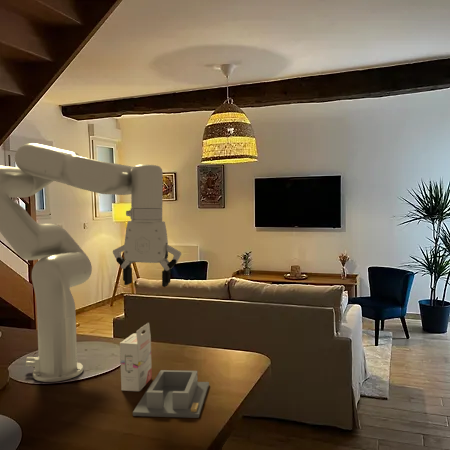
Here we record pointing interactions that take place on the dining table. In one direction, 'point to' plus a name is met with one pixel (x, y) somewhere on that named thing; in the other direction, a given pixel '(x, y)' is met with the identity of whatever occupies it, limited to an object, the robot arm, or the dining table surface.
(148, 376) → the ink cartridge box
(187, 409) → the grey box holder
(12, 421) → the dining table surface
